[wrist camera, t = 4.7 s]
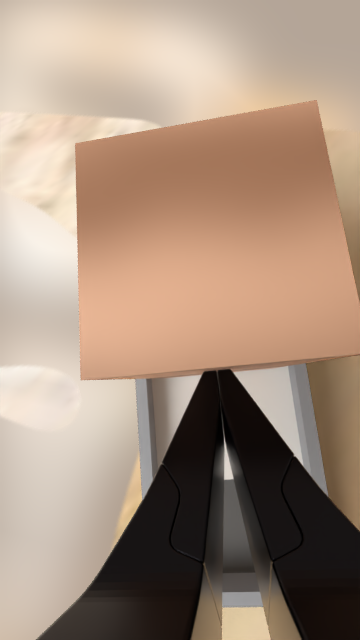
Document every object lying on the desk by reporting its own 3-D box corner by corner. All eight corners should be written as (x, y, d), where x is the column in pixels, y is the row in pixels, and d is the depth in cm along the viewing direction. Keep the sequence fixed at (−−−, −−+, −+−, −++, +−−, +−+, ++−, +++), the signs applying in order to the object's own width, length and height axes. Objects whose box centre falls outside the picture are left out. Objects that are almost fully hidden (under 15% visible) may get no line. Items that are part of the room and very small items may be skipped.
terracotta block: (272, 368, 17) (369, 353, 6) (166, 378, 17) (80, 379, 7) (257, 266, 18) (316, 100, 7) (158, 278, 18) (75, 143, 8)
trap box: (330, 576, 15) (346, 606, 13) (157, 580, 16) (148, 608, 14) (267, 190, 20) (273, 170, 18) (133, 211, 21) (124, 193, 19)
